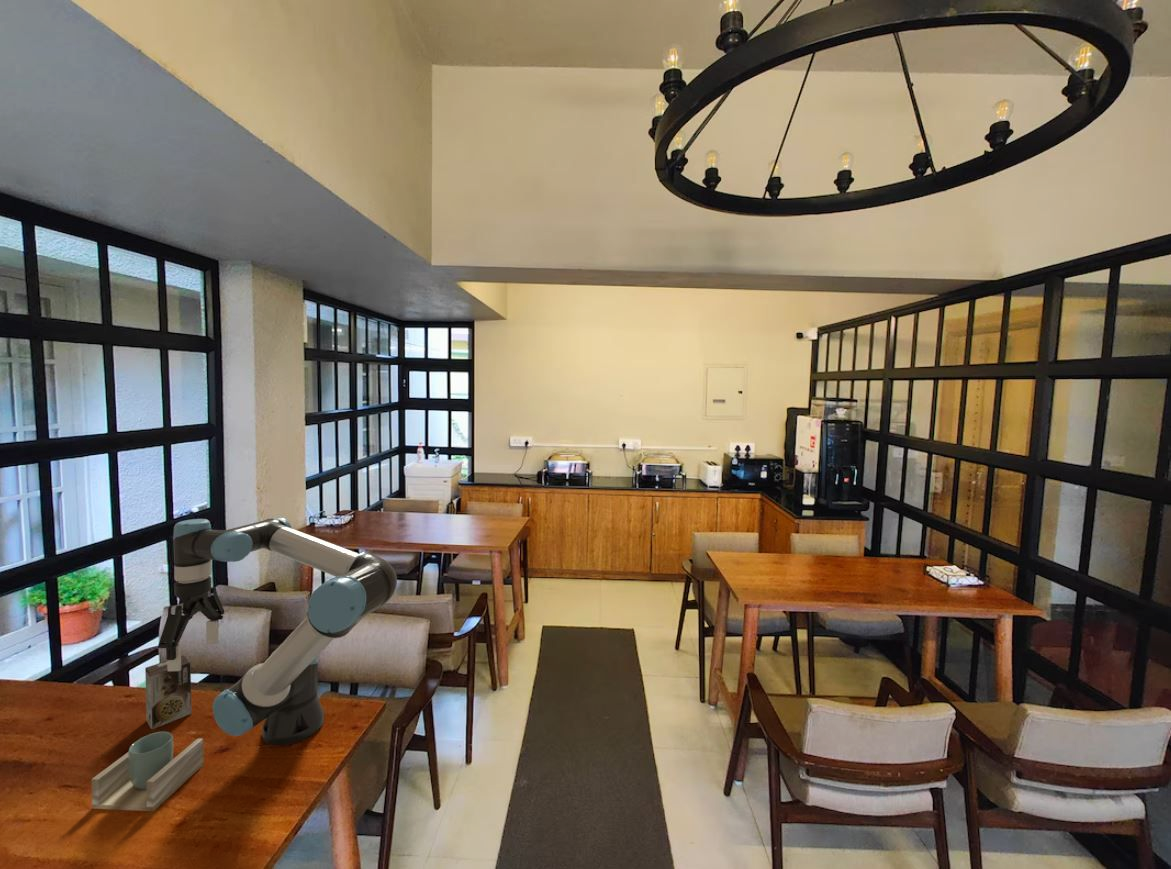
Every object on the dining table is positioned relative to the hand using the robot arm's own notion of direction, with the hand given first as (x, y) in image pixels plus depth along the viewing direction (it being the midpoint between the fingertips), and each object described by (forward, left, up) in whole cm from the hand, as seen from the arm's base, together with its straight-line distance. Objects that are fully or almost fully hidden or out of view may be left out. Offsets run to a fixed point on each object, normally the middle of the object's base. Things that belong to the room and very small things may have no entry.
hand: (194, 656), depth 126 cm
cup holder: (0, +13, -25) cm, 28 cm away
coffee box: (+17, -11, -25) cm, 32 cm away
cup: (0, +13, -24) cm, 28 cm away
